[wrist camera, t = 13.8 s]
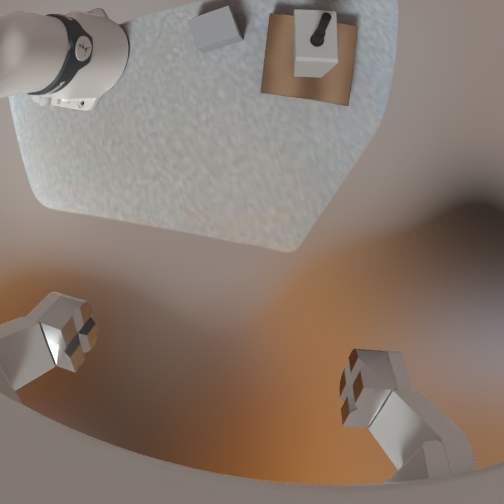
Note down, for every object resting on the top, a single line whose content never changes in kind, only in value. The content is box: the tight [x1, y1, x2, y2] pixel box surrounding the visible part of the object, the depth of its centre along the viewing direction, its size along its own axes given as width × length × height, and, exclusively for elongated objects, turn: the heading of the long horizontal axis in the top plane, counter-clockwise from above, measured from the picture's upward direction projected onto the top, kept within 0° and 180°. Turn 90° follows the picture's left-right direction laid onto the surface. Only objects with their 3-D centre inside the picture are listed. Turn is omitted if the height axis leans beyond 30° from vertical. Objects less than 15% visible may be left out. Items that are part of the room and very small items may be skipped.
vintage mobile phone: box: [293, 9, 339, 78], centre depth 26 cm, size 4×5×25 cm
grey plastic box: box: [188, 6, 243, 53], centre depth 37 cm, size 6×5×4 cm
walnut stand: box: [261, 13, 358, 106], centre depth 38 cm, size 12×12×3 cm
